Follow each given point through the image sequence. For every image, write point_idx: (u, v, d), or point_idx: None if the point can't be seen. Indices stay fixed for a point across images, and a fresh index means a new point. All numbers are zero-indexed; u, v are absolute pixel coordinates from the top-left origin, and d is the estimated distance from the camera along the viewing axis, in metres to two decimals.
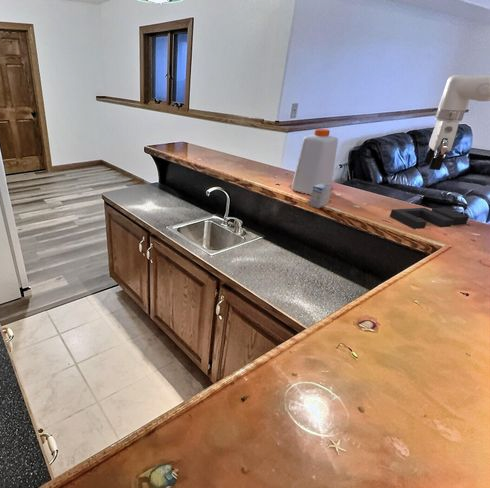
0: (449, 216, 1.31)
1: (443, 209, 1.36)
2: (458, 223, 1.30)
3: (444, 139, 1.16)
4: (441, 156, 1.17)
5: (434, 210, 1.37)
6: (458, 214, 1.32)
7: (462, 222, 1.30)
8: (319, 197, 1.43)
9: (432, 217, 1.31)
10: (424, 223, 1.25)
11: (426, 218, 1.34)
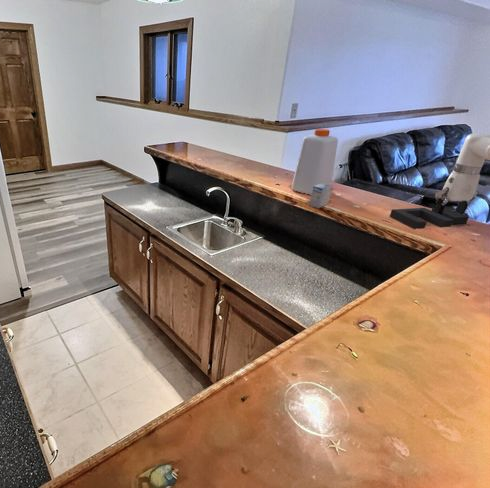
0: (449, 216, 1.31)
1: None
2: (458, 223, 1.30)
3: (446, 188, 1.29)
4: (439, 202, 1.31)
5: None
6: (458, 214, 1.32)
7: (462, 222, 1.30)
8: (319, 197, 1.43)
9: (432, 217, 1.31)
10: (424, 223, 1.25)
11: (426, 218, 1.34)
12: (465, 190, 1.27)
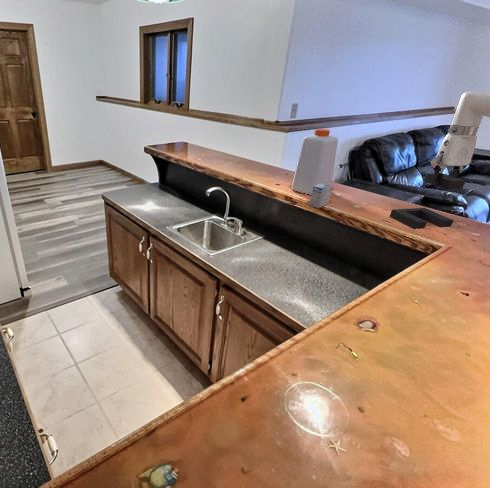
0: (444, 180, 1.22)
1: None
2: (454, 187, 1.21)
3: (441, 153, 1.20)
4: (436, 170, 1.22)
5: (428, 175, 1.28)
6: (454, 178, 1.23)
7: (459, 186, 1.21)
8: (319, 197, 1.43)
9: (432, 217, 1.31)
10: (424, 223, 1.25)
11: (426, 218, 1.34)
12: (461, 153, 1.18)
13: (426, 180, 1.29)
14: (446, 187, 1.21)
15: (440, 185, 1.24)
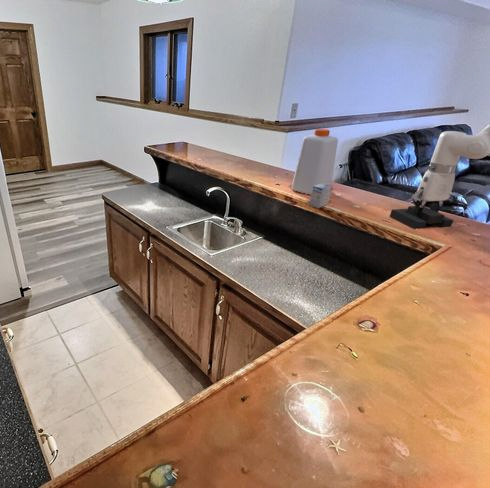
0: (424, 214, 1.27)
1: None
2: (434, 222, 1.26)
3: (421, 189, 1.25)
4: (417, 204, 1.27)
5: (410, 208, 1.32)
6: (434, 212, 1.27)
7: (438, 220, 1.26)
8: (319, 197, 1.43)
9: None
10: (424, 223, 1.25)
11: None
12: (440, 190, 1.23)
13: (408, 212, 1.34)
14: (426, 221, 1.26)
15: None
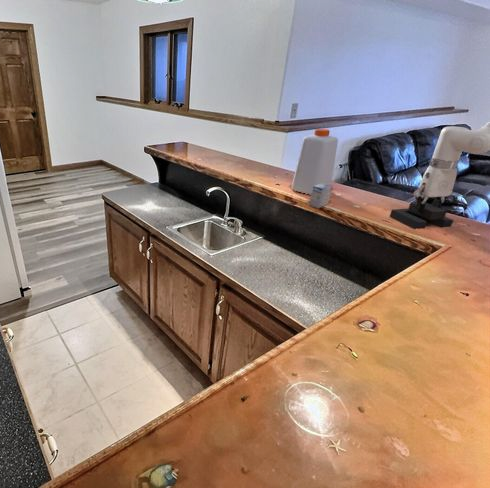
0: (426, 210, 1.26)
1: None
2: (436, 218, 1.25)
3: (423, 185, 1.24)
4: (418, 200, 1.26)
5: (412, 205, 1.32)
6: (436, 208, 1.27)
7: (440, 216, 1.25)
8: (319, 197, 1.43)
9: None
10: (424, 223, 1.25)
11: (426, 218, 1.34)
12: (442, 185, 1.22)
13: (410, 209, 1.33)
14: (428, 217, 1.25)
15: (423, 215, 1.27)
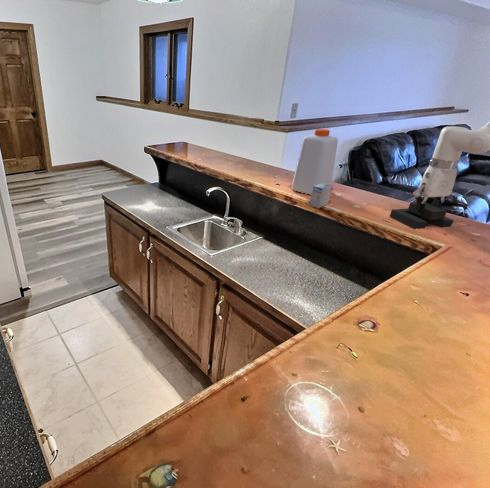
0: (426, 210, 1.26)
1: None
2: (436, 218, 1.25)
3: (423, 185, 1.24)
4: (418, 200, 1.26)
5: (412, 204, 1.32)
6: (436, 208, 1.27)
7: (440, 216, 1.25)
8: (319, 197, 1.43)
9: None
10: (424, 223, 1.25)
11: (426, 218, 1.34)
12: (442, 185, 1.22)
13: (409, 209, 1.33)
14: (428, 217, 1.25)
15: (422, 215, 1.27)
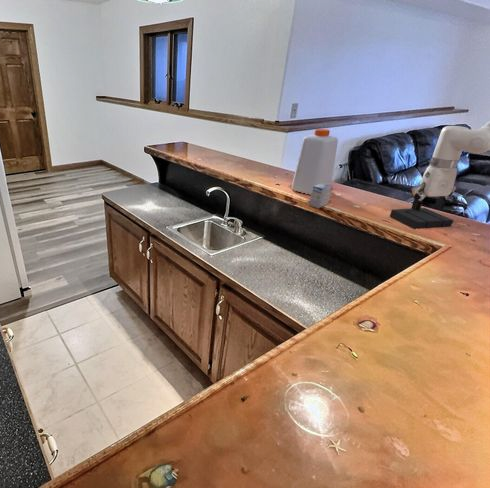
0: None
1: (418, 212, 1.33)
2: (432, 227, 1.27)
3: (423, 183, 1.24)
4: (415, 198, 1.26)
5: None
6: (432, 218, 1.28)
7: (436, 226, 1.27)
8: (319, 197, 1.43)
9: None
10: (424, 223, 1.25)
11: None
12: (442, 185, 1.22)
13: None
14: None
15: None
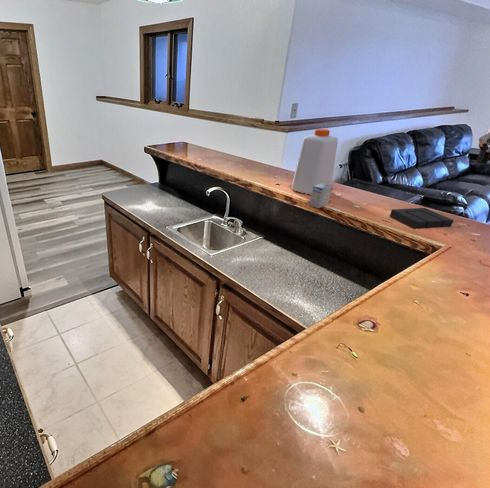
0: None
1: (418, 212, 1.33)
2: (432, 227, 1.27)
3: None
4: (483, 149, 1.12)
5: None
6: (432, 218, 1.28)
7: (436, 226, 1.27)
8: (319, 197, 1.43)
9: None
10: (424, 223, 1.25)
11: None
12: None
13: None
14: None
15: None
